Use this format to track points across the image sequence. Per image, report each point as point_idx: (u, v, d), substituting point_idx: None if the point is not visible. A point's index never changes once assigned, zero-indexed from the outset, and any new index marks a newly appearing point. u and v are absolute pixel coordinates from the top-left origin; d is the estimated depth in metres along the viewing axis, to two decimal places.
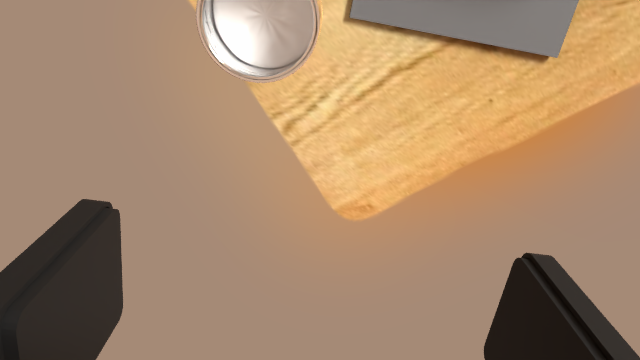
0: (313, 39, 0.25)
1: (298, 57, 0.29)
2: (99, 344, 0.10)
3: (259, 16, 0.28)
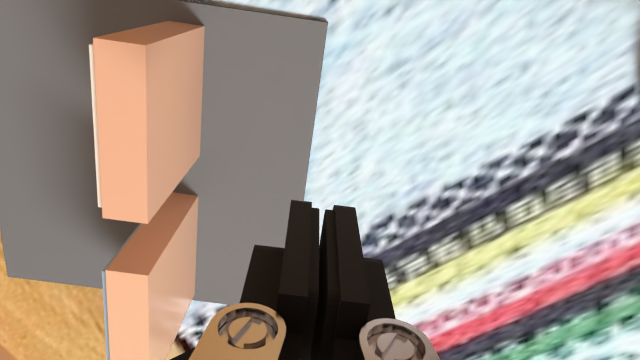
0: None
1: None
2: None
3: None
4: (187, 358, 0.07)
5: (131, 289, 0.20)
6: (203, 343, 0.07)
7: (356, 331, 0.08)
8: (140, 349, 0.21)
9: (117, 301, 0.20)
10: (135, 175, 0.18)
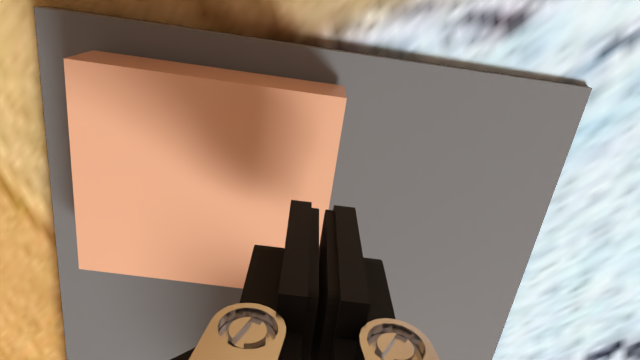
0: None
1: None
2: None
3: None
4: (187, 358, 0.07)
5: None
6: (203, 343, 0.07)
7: (356, 331, 0.08)
8: None
9: None
10: None
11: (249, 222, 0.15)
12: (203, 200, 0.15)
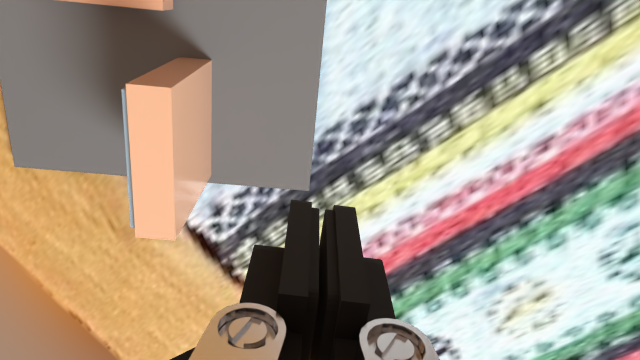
0: None
1: None
2: None
3: None
4: (187, 358, 0.07)
5: (154, 106, 0.19)
6: (203, 343, 0.07)
7: (356, 331, 0.08)
8: (164, 181, 0.20)
9: (139, 122, 0.19)
10: None
11: None
12: None
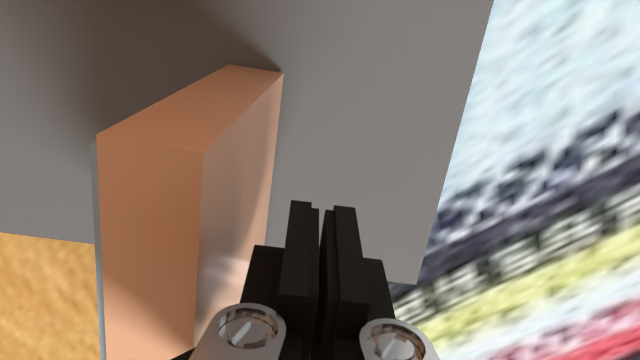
0: None
1: None
2: None
3: None
4: (187, 358, 0.07)
5: (159, 192, 0.08)
6: (203, 343, 0.07)
7: (356, 331, 0.08)
8: (174, 344, 0.09)
9: (125, 222, 0.08)
10: None
11: None
12: None
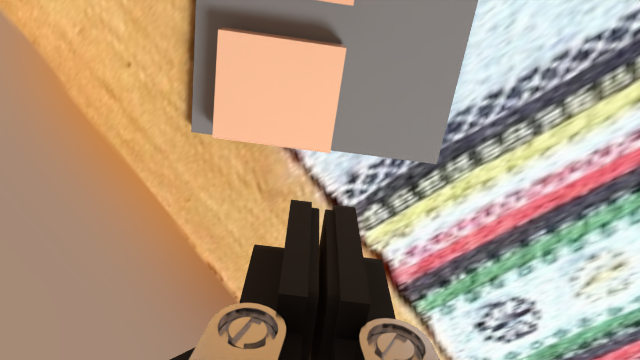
0: None
1: None
2: None
3: None
4: (187, 358, 0.07)
5: None
6: (203, 343, 0.07)
7: (356, 331, 0.08)
8: None
9: None
10: None
11: None
12: None
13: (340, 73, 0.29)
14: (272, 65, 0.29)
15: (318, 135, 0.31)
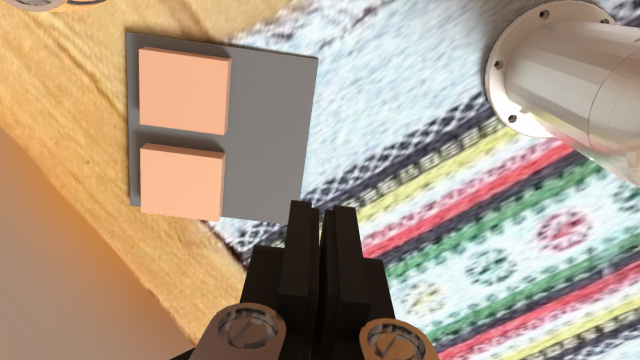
0: (22, 6, 0.29)
1: None
2: None
3: None
4: (187, 358, 0.07)
5: None
6: (203, 343, 0.07)
7: (356, 331, 0.08)
8: None
9: None
10: None
11: (199, 105, 0.43)
12: (183, 97, 0.43)
13: (220, 173, 0.46)
14: (176, 169, 0.46)
15: (209, 211, 0.48)
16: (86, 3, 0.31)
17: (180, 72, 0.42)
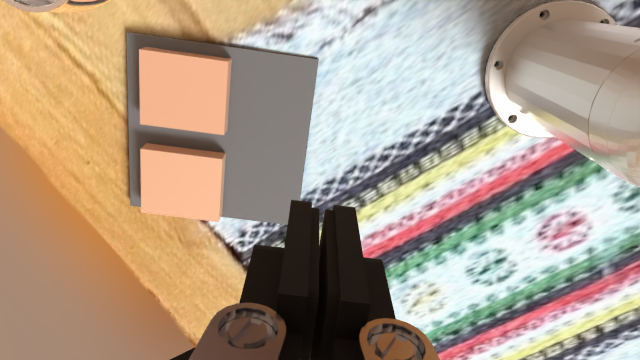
0: (22, 7, 0.29)
1: None
2: None
3: None
4: (187, 358, 0.07)
5: None
6: (203, 343, 0.07)
7: (356, 331, 0.08)
8: None
9: None
10: None
11: (199, 105, 0.43)
12: (183, 97, 0.43)
13: (220, 174, 0.46)
14: (176, 169, 0.46)
15: (210, 211, 0.48)
16: (86, 3, 0.31)
17: (180, 72, 0.42)
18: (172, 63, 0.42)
